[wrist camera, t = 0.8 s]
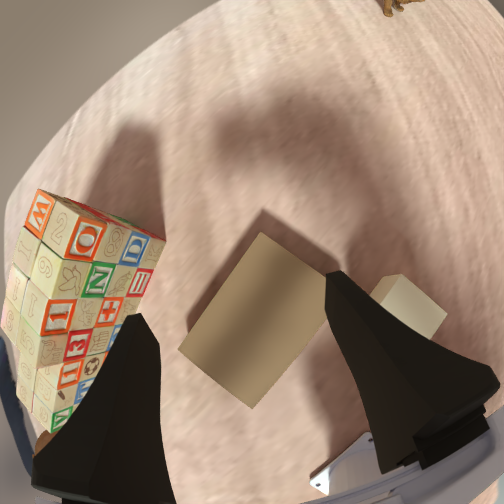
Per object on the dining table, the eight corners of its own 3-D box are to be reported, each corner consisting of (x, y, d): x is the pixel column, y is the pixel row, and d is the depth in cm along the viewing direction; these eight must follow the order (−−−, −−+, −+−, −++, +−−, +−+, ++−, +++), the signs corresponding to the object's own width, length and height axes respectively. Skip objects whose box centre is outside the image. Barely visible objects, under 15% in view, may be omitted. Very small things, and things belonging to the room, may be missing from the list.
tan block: (342, 291, 24) (345, 292, 22) (259, 396, 25) (252, 409, 22) (266, 237, 26) (260, 231, 23) (191, 343, 27) (177, 349, 24)
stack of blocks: (104, 409, 28) (28, 444, 16) (70, 378, 30) (-7, 399, 18) (168, 240, 28) (78, 213, 16) (123, 216, 30) (35, 185, 18)
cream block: (420, 307, 22) (447, 314, 17) (388, 349, 23) (407, 368, 17) (383, 276, 23) (401, 273, 18) (350, 319, 24) (360, 330, 18)
